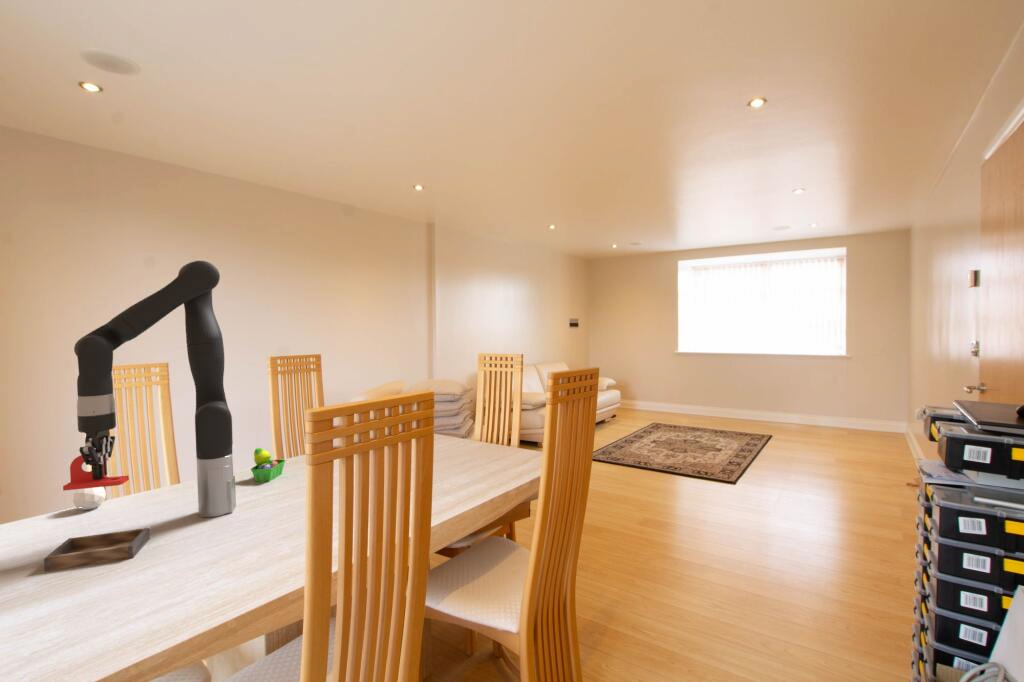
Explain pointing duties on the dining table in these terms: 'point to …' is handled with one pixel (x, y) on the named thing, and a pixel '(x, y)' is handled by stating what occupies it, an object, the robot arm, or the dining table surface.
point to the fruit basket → (266, 466)
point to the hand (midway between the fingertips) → (99, 477)
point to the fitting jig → (97, 549)
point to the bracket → (89, 477)
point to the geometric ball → (89, 498)
